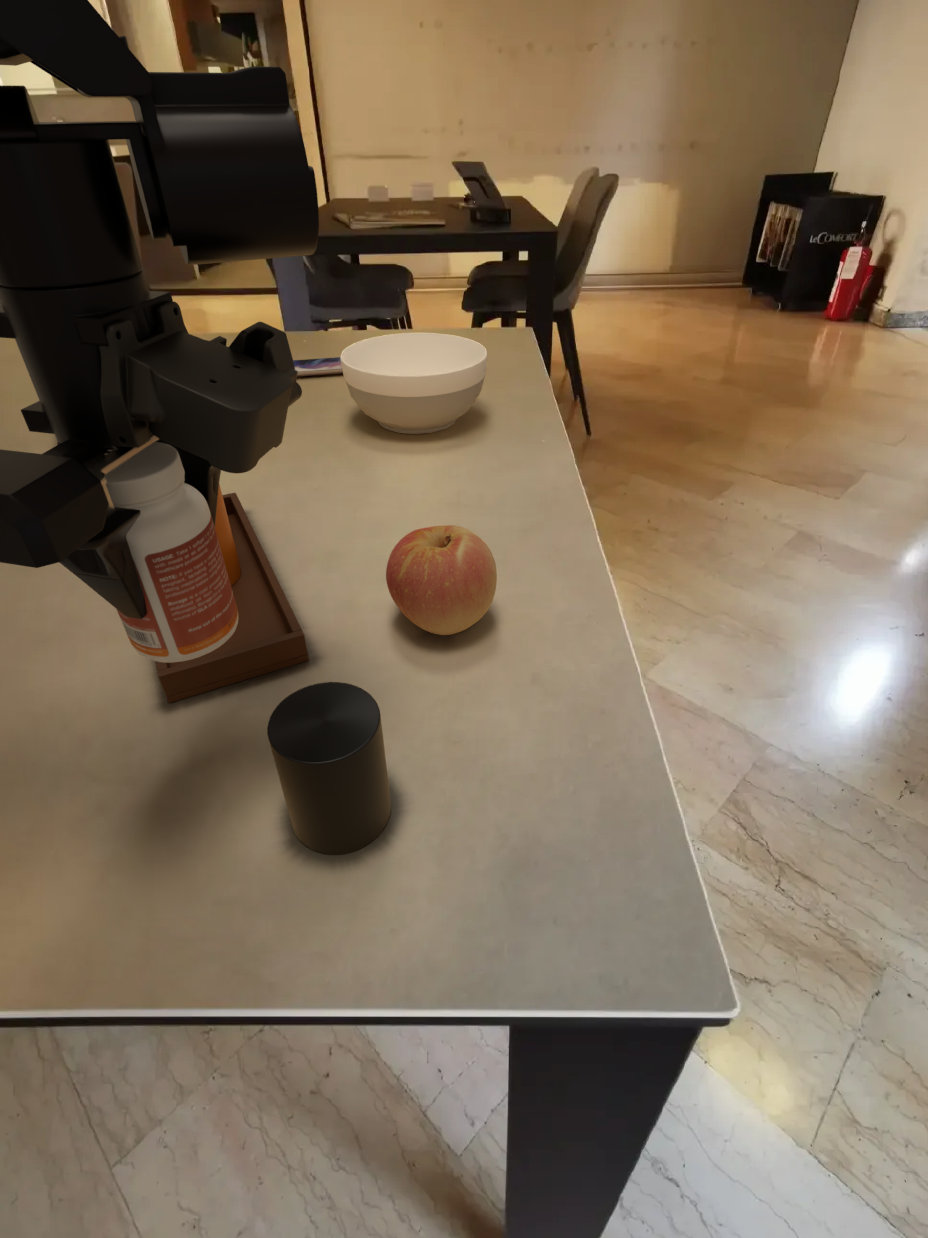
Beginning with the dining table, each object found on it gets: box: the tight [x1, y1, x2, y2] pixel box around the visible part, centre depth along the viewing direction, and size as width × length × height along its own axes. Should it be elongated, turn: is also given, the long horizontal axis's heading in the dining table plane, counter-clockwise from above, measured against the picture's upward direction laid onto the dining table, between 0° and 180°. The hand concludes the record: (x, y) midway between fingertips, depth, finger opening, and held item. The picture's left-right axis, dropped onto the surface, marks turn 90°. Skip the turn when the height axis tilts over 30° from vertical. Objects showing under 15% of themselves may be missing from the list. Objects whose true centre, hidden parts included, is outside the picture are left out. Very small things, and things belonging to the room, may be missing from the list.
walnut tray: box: [154, 492, 310, 704], centre depth 58 cm, size 26×10×3 cm, turn 26°
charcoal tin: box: [266, 681, 392, 855], centre depth 38 cm, size 6×6×8 cm
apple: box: [385, 524, 498, 636], centre depth 53 cm, size 9×9×8 cm
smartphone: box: [293, 356, 343, 377], centre depth 107 cm, size 7×1×15 cm
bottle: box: [215, 483, 241, 586], centre depth 56 cm, size 6×6×11 cm
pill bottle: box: [105, 442, 238, 663], centre depth 36 cm, size 6×6×11 cm
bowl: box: [339, 332, 488, 435], centre depth 88 cm, size 19×19×9 cm
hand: (172, 582), depth 37 cm, fingers closed on pill bottle, 6 cm apart
